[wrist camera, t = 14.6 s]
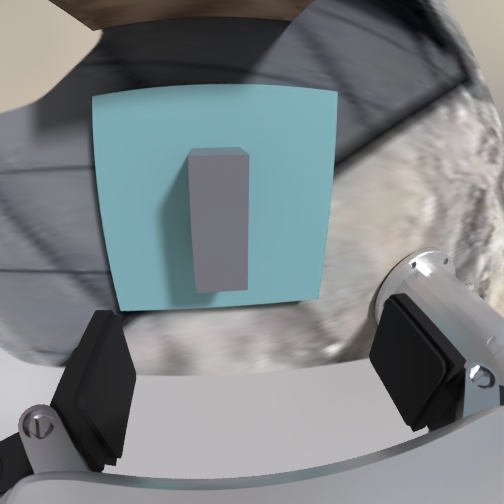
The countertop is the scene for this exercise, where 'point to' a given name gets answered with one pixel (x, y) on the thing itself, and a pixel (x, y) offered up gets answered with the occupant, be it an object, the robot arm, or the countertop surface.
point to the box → (175, 10)
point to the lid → (215, 193)
